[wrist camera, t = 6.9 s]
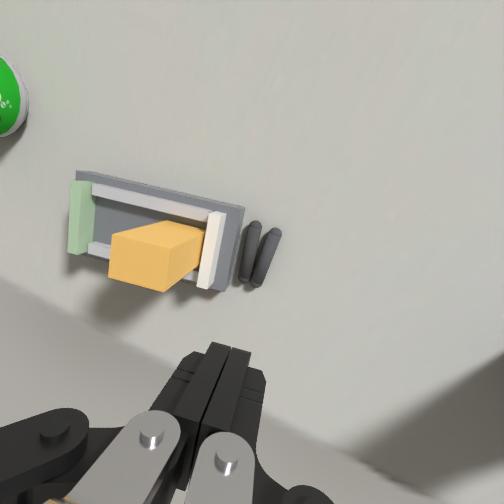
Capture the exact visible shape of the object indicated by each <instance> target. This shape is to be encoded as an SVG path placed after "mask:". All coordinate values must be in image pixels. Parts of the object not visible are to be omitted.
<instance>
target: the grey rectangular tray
mask: <svg viewBox="0 0 504 504" xmlns="http://www.w3.org/2000/svg"><path fill="white" fill-rule="evenodd" d="M244 211H245V207H242V206H237V205H233V204H229V203H224V202H220V201H216V200H211V199H207V198H203V197H198V196H194V195H190V194H186V193H181V192H177V191H173V190H168V189H164V188H160V187H155V186H151V185H147V184H142V183H138V182H134V181H129V180H125V179H121V178H116V177H112V176H108V175H104V174H99V173H95V172H90V171H76V180H71V190H70V209H69V228H68V247H67V252H68V253H71V254H75V255H79V254H82V255H86V256H89V257H93V258H97V259H101V260H105V261H108V262H109V261H110V251H111V240H112V234H115V233H119V232H122V231H126V230H130V229H134V228H138V227H142V226H146V225H150V224H154V223H158V222H162V221H166V220H168V221H172V222H176V223H180V224H184V225H188V226H192V227H197V228H201V229H205V230H206V234H205V240H204V246H203V251H202V257H201V263H200V264H199V265H198V266H197V267H196V268H194V269H193V270H192V271H191V272H189V273H188V274H187V275H185V276H184V277H183V278H182V279H180V281H184V282H188V283H192V284H195V285H197V286H196V287H200V288H203V289H208V288H210V289H214V290H218V291H222V292H225V291H226V289H227V288H228V286H229V284H230V279H231V274H232V269H233V265H234V260H235V255H236V250H237V245H238V240H239V235H240V230H241V226H242V221H243V216H244Z"/></svg>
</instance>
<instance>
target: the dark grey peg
mask: <svg viewBox="0 0 504 504" xmlns="http://www.w3.org/2000/svg"><path fill="white" fill-rule="evenodd" d="M261 229H262V225H261V223H260V222H259V221H252V222H251V223H250V224H249V228H248V233H247V238H246V242H245V247H244V252H243V256H242V261H241V266H240V271H239V275H238V278H239V280H240V281H241V282H242V283H247V282H248V281H249V280H250V278H251V274H252V269H253V265H254V260H255V256H256V251H257V247H258V242H259V238H260V233H261Z"/></svg>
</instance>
